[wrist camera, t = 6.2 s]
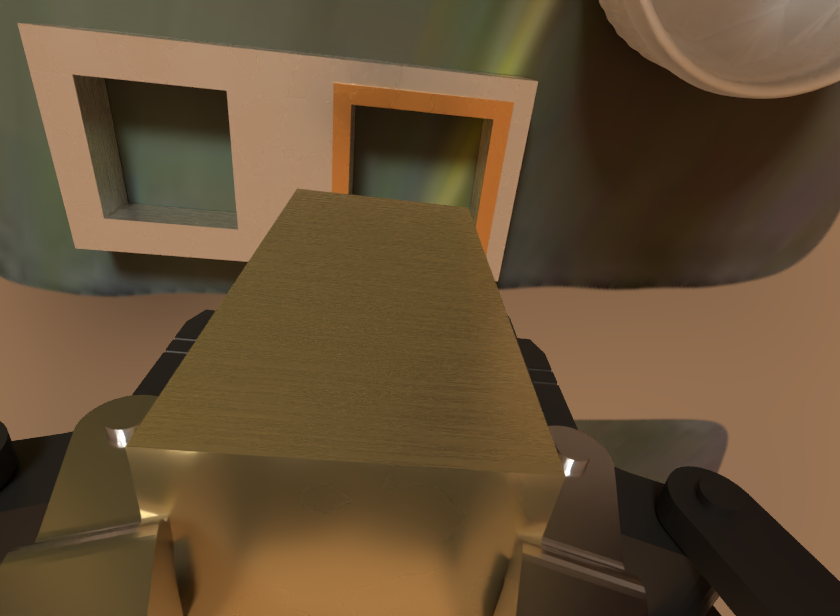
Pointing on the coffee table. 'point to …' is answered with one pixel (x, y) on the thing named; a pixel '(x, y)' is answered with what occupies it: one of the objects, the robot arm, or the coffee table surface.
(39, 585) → the robot arm
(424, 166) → the coffee table surface
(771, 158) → the coffee table surface
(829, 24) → the ramekin
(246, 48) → the plate with square holes
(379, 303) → the tan wooden block
